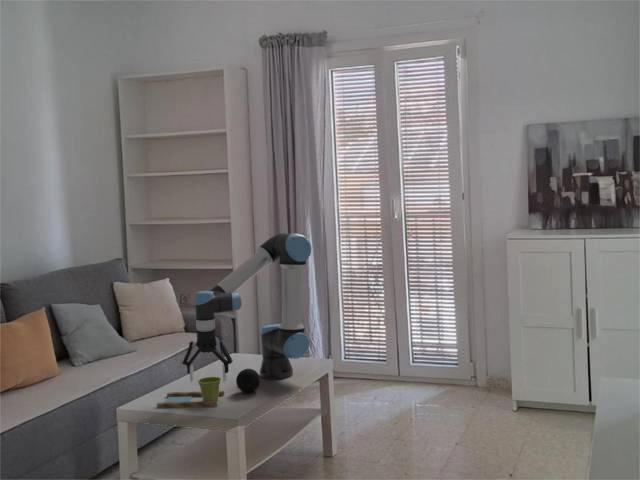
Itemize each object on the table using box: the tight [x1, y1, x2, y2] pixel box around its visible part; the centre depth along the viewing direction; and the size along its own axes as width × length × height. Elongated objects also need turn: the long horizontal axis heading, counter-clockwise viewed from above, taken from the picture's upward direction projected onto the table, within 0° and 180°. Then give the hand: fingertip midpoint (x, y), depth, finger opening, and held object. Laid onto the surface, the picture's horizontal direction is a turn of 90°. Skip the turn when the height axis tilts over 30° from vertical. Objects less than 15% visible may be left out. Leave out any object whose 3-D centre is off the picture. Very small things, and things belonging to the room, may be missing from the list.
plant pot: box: [197, 376, 222, 402], centre depth 300 cm, size 9×9×9 cm
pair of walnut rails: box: [156, 390, 225, 409], centre depth 301 cm, size 24×16×2 cm, turn 85°
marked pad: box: [163, 396, 193, 403], centre depth 302 cm, size 10×10×1 cm
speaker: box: [235, 368, 261, 394], centre depth 309 cm, size 10×10×10 cm
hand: (208, 381), depth 299 cm, fingers open, 13 cm apart
